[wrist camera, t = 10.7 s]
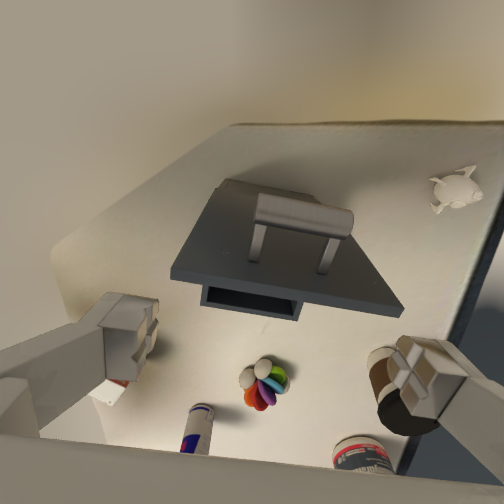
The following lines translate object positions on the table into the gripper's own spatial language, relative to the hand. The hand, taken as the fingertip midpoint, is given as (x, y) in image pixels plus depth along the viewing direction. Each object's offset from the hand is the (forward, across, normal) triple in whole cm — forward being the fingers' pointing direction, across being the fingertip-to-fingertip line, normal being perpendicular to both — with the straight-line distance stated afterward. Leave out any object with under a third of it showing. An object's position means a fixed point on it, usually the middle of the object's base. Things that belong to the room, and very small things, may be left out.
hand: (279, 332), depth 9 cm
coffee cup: (+33, -31, +30) cm, 54 cm away
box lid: (+14, -2, +1) cm, 14 cm away
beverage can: (+34, +3, +52) cm, 62 cm away
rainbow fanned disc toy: (+33, -9, +38) cm, 51 cm away
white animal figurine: (+33, -28, -4) cm, 43 cm away
